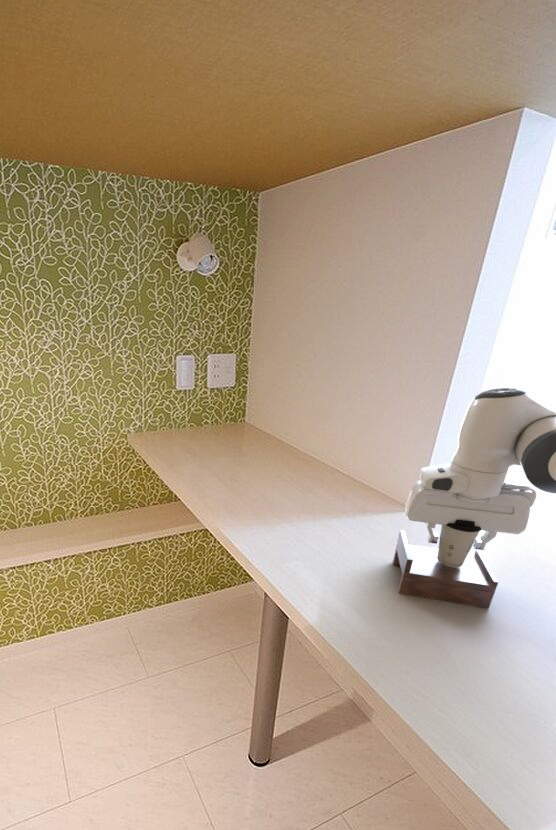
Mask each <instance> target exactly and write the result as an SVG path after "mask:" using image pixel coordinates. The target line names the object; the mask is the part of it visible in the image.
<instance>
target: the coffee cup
mask: <svg viewBox="0 0 556 830" xmlns="http://www.w3.org/2000/svg"><path fill="white" fill-rule="evenodd" d="M481 531H482V530H481V527H477V526H475V522H474V521H466V520H458V519H457V520H456V521H455V523H448V524H447V525H441V527H440V535H439V541H438V556H437V559H438V561H439V562H440V563H442V564H444V565H446V566H450V567H461V566H462V565H463V563H464V561H465V559H466V557H467V555H468V553H470V551H471V550H472V547H473V543H474V542H475V539H476V538H478V535H479V533H480V532H481Z"/></svg>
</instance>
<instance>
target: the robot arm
mask: <svg viewBox="0 0 556 830" xmlns="http://www.w3.org/2000/svg"><path fill="white" fill-rule="evenodd" d="M515 465H516V466H521V467H522V470H523V472H524V475H525V477H526V479H527V480H528V481H529V482H530V484H531V485H532V486H534V487H535V488H537V489H539V490H541V491H543V492H545V493H551V494H556V410H555V409H551V408H550V407H548V406H546V405H544V404H542V403H541V402H539V401H537V400H536V399H534V398H533V397H532V396H531V395H529V393H528V391H526V390H524V389H521V388H511V387H505V388H504V387H503V388H502V387H500V388H493V389H487V390H484V391H481V392H480V393H478V394H476V395H475V396H474V397H473V398H472V400H471V401H470V403H469V404H468V407H467V409H466V411H465V413H464V417H463V420H462V422H461V425H460V429H459V432H458V436H457V448H456V451H455V452H454V454H453V456H452V457H451V461H450V462H448V463H443V464H438V465H437V464H436V465H431V466H426V467H422V468H421V469H420V472H419V480H418V481H416V482H415V483H414V484H413V486H412V488H411V489H410V492H409V495H408V497H407V499H406V503H405V506H404V512H405V517H406V518H407V519H408V520H409V521H411V522H417V523H418V522H419V523H425V526H426V528H427V532H428V535H427V543H429V544H436V545H437V544H438V540H439V539H440V535H439V534H438V532H437V531H434V530H433V529H435V528H436V525H441V526H442V525H447V524H448V523H455V521H456V520H457V519H458V520H466V521H474V522H475V526H477V527H481V531H484V533H483V535H481V536H480V537H476V539H475V541H474V543H473V545H472V547H473V548H474V550H480V551H484V550H485V548H486V544H488V543H489V542H490V541H492V540H493V539H495V538H496V536H497V534H498V533H503V534H509V535H520V534H522V533H523V532H525V531H526V529H527V525H528V522H529V517H530V512H531V511H530V510H531V508H532V506H533V505H534V502H535V500H536V498H537V492H536V490H535V489H534V488H533V487H531V486H530V485H528V484H517V483H512V482H505V479H506V477H507V473H508V470H509V467H511V466H515Z"/></svg>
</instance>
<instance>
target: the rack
mask: <svg viewBox="0 0 556 830" xmlns="http://www.w3.org/2000/svg"><path fill="white" fill-rule="evenodd" d="M396 541H397V542H396V546H395V550H394V554H393V558H392V565H394V566H399V567H400V570H401V576H400V580H399V584H398V588H397V592H398V594H401V595H407V596H412V597H419V598H424V599H430V600H436V601H442V602H448V603H455V604H460V605H466V606H472V607H477V608H483V609H489V608H490V606H491V604H492V601H493V598H494V595H495V593H496V590H497V587H498V585H499V581H498V580H497V579H498V578H497V577H496V576H495V573H494V572H493V571H492V569H491V567H490V564H489V563H488V561H487V560H486V558H485V556H484V554H483V552H482V550H478V549H475V552H474V553H472V552H469V553H468V555H467V557H466V559H465V561H464V563H463V565H462V566H461V567H450V566H446V565H444V564H442V563H440V562H439V561H438V559H437V556H438V548H439V547H438V548H437V547H433V546H432V547H430V546H425V545H424V546H423V545H416V544H410V543H409V540H408V536H407V534H406V530H399V533H398V538H397V540H396Z"/></svg>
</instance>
